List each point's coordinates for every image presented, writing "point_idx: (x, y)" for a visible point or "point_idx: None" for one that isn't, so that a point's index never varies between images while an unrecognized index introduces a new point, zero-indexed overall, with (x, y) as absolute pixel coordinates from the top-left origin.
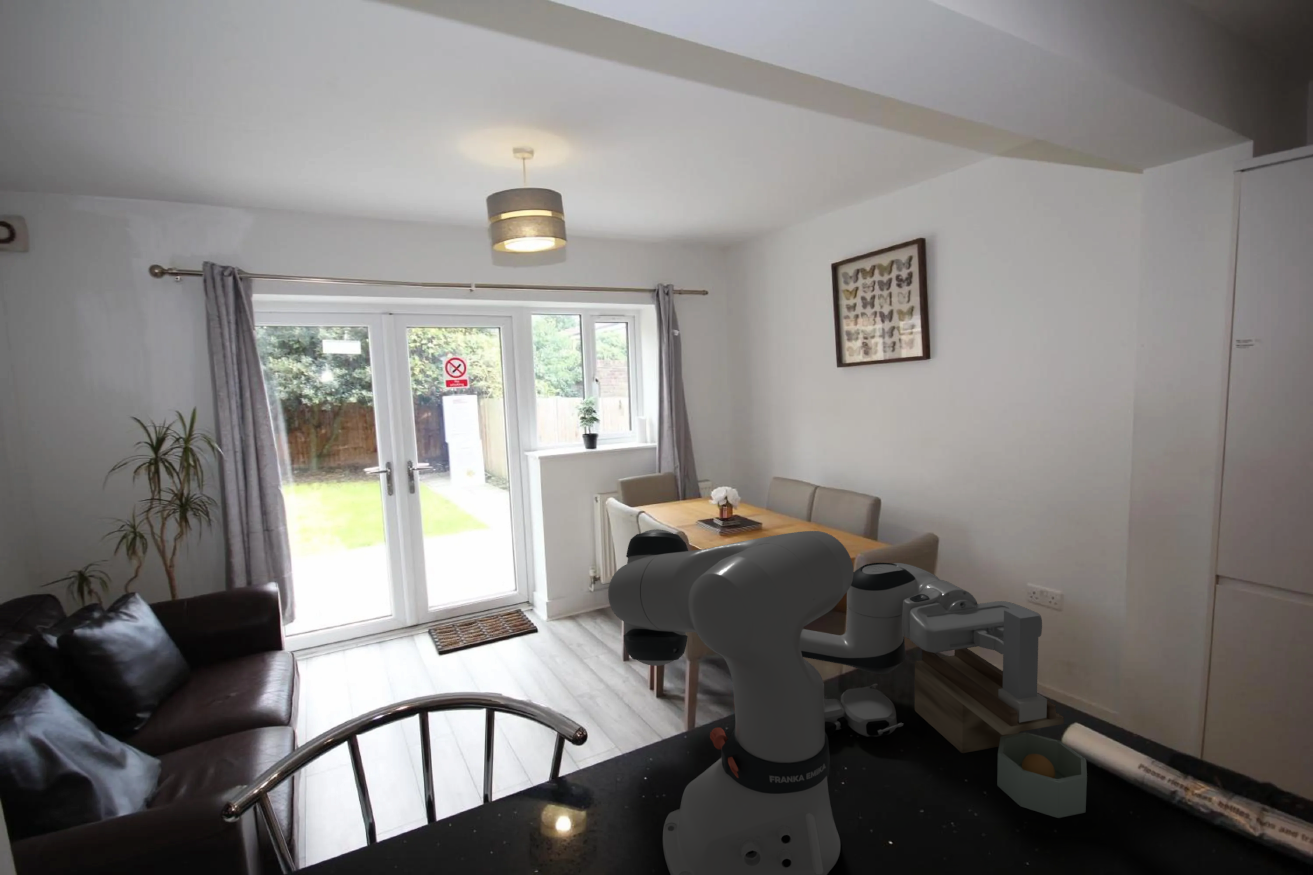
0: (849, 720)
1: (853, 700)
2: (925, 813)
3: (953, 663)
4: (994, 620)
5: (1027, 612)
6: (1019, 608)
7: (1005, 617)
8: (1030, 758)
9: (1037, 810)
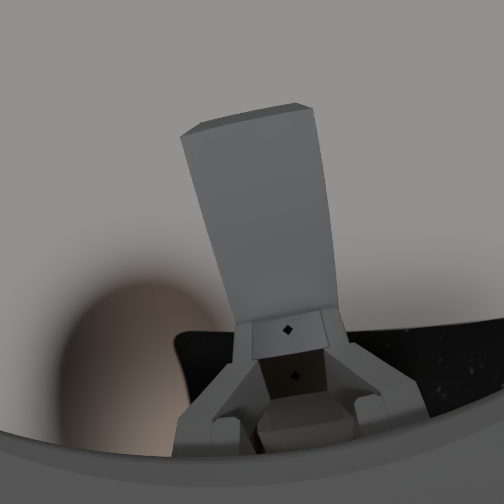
0: None
1: None
2: (499, 381)
3: None
4: (201, 485)
5: (214, 122)
6: (204, 131)
7: (317, 149)
8: None
9: None
